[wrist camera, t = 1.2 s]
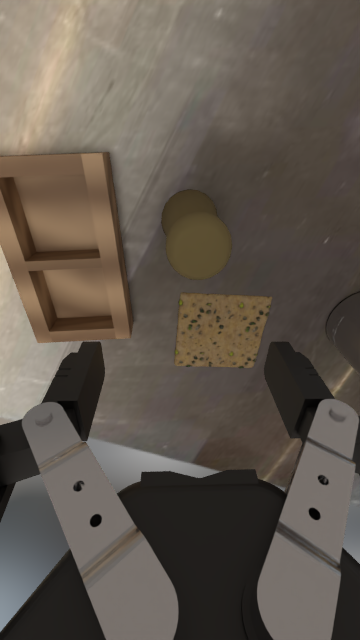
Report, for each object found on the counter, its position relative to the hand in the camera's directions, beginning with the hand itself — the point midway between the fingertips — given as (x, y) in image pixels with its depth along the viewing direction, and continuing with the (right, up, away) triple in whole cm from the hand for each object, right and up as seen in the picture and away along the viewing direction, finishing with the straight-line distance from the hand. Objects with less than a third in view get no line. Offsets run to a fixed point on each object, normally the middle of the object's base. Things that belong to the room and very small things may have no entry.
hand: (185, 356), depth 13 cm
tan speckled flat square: (+5, 0, +25) cm, 26 cm away
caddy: (-12, +9, +18) cm, 23 cm away
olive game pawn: (+1, +12, +17) cm, 21 cm away
